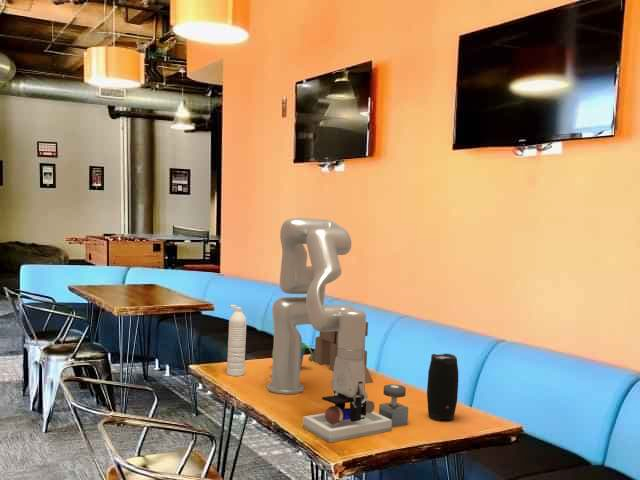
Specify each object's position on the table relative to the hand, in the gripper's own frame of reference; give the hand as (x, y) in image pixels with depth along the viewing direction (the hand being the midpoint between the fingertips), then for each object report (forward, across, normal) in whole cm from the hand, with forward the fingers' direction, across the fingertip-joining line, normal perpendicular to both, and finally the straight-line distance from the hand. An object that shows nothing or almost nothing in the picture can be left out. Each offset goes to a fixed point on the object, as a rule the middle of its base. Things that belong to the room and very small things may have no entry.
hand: (347, 416), depth 169 cm
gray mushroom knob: (0, +2, +15) cm, 16 cm away
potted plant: (+4, -64, +20) cm, 67 cm away
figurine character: (+2, 0, 0) cm, 2 cm away
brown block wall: (+4, -56, +37) cm, 67 cm away
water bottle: (+4, -67, -3) cm, 67 cm away
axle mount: (+4, +2, +16) cm, 16 cm away
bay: (+4, 0, 0) cm, 4 cm away
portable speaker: (+4, +5, +32) cm, 33 cm away
